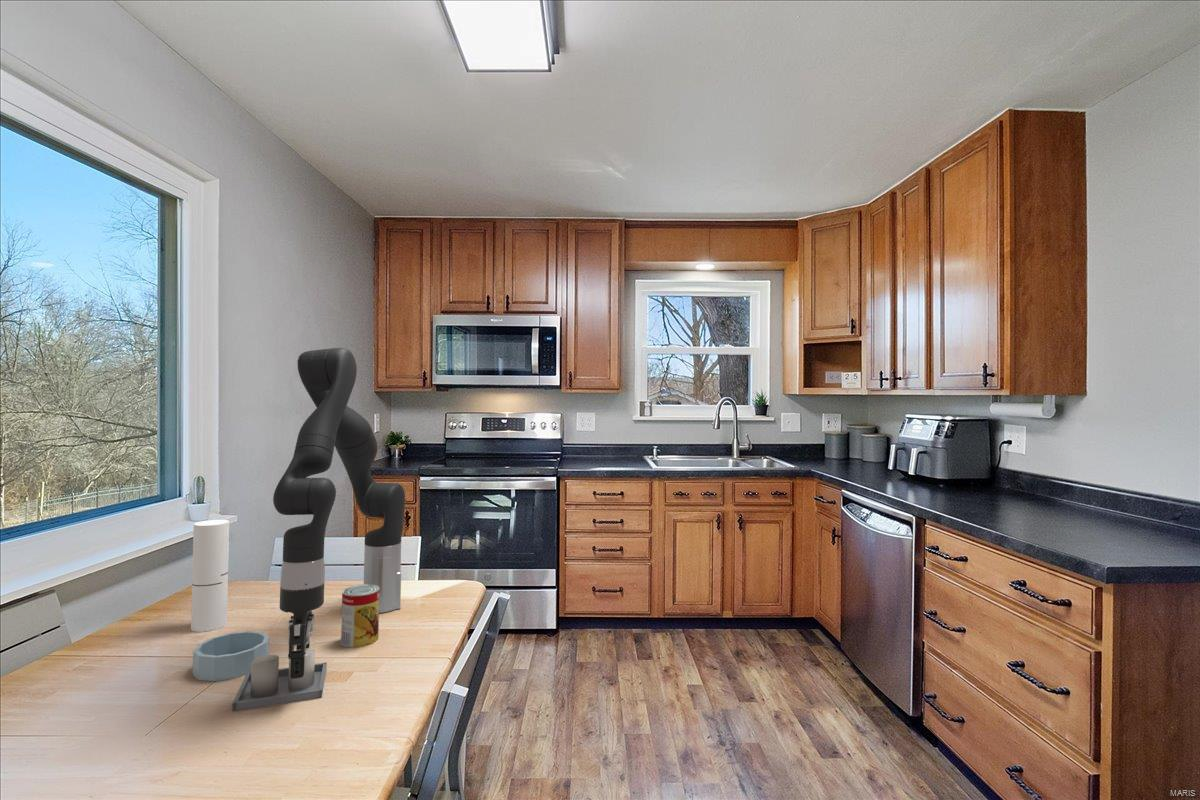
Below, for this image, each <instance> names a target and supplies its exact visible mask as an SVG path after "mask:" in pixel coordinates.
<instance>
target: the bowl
mask: <svg viewBox="0 0 1200 800" xmlns="http://www.w3.org/2000/svg"><path fill="white" fill-rule="evenodd" d="M269 651H270V636H269V635H268V634H266V633H265V632H263V631H256V630H255V631H254V630H243V631H237V632H236V631H235V632H228V633H224V634H221V635H217V636H213V637H211V638H209V639H207V640H204V641H202V642H201V643H198V644H197V645H196V647H195V648H194V649H193V651H192V676H193V677H195V678H196V679H197V680H198V681H208V682H209V681H210V682H218V681H225V680H233V679H237V678H239V677H240V678H241V677H243V676H246V674H247V673H251V662H252V661H253V660H254V659H256V658H258V657H261V656H265V655H270V654H269V653H270V652H269Z"/></svg>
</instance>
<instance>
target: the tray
mask: <svg viewBox="0 0 1200 800" xmlns="http://www.w3.org/2000/svg"><path fill="white" fill-rule="evenodd" d="M327 664H328V663H327V661H326V662H320V663H315V671H314V684H313V685H312V686H310V687H308V688H306V689H302V690H291V689H289V688H288V678H289V667H283V668H279V673H278V691H277V692H276V693H275V694H273V695H271V696H269V697H263V698H252V697H251V673H247V674H246V675H244V678H243V681H242V683H241V685H240V687H239V689H238V692H237V694H236V696H235V698H234V700H233V702H232V712H238V711H244V710H246V711H247V710H251V709H258V708H262V707H263V708H264V707H265V708H266V707H270V706H271V707H272V706H276V705H284V704H288V703H290V704H291V703H294V702H295V703H296V702H301V701H308V700H309V701H310V700H314V699H315V700H316V699H321V698H323V693H324V686H325V683H326V682H325V680H326V674H327V666H328V665H327Z"/></svg>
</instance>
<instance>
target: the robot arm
mask: <svg viewBox="0 0 1200 800" xmlns="http://www.w3.org/2000/svg"><path fill="white" fill-rule="evenodd" d="M297 371H298V375H299V378H300V380H301V383H302V384H303V386H304V389H305V391H306V392H307V393H308V395H309V397H310V399H311V401H312V402H313V404H314V405H315V407H316V409H315V410H314V411H313V412H312V413H310V415H309V416H308V417H307V418H306V419H305V421H304V422H303V424H302V426H301V427H300V429H299V432H298V435H297V439H296V443H295V447H294V452H293V455H292V459H291V460H290V463H289V465H288V467H287V468H286V469H285V471H284V474H282V477H281V478H280V480H279V481H278V482H277V485H276V487H275V489H274V492H273V498H272V501H273V506H274V508H275V510H276V511H277V513H279V514H280V515H283V516H305V515H306V516H308V515H313V516H312V520H311V521H310V523H309V522H308V524H303V525H299V526H294V527H291V528H289V529H287V530H286V531H285V532H284V534H283V538H282V539H283V543H282V564H281V569H280V587H279V588H280V589H279V609H280V611H281V612H283V613H288V614H290V613H291V614H292V615H290V620H288V632H289V633H288V642H287V643H288V654H287V657H288V660H289V659H291V669H290V677H291V678H292V679H295V678H301V677H303V676H304V663H305V655H306V652H305V651H306V648H310V642H311V641H310V640H311V636H312V632H313V630H314V622H315V621H314V619H315V613H313V611H314V610H317V609H319V608H321V607H322V606H323V604H324V602H325V577H326V576H325V574H326V573H325V571H326V569H325V568H326V566H325V556H324V555H325V539H326V538H325V536H326V529H327V526H328V522H329V518H330V515H331V513H332V509H333V506H334V504H335V500H336V497H337V490H336V489H337V488H336V485H335V484H334V482H333V481H332V480H331V479H330V478H327V477H311V476H315V475H319V474H323V473H324V472H327V471H328V470H329V469H330V468H331V465H332V461H333V457H334V456H333V455H334V451H335V450H336V452H337V454H338V456H339V458H340V459H341V462H342V464H343V467H344V468H345V471H346V473H347V475H348V479H349V481H350V484H351V486H352V490H353V494H354V497H355V501H356V503H357V506H358V509H359V511H360V512H361V514H363V515H364V516H366V517H368V518H382V519H383V524H382V526H380V527H379V528H375V529H373V530H369V531H367V532H366V534H365V535H364V549H363V550H364V553H363V555H364V557H363V558H364V559H363V584H371V585H376V586H378V587H379V614H381V613H387V612H392V611H395V610H399V609H401V604H402V603H401V599H402V598H401V596H402V595H401V594H402V592H401V591H402V569H401V568H402V566H401V565H402V562H401V561H402V536H403V535H402V534H403V532H404V531H403V530H404V521H405V507H406V506H405V505H406V492H405V489H404V487H403V486H402V484H401V483H394V482H377V481H375V480H374V478H373V477H372V474H371V469H372V466H373V463H374V461H375V459H376V457H377V453H378V449H379V447H378V446H379V445H378V441H377V438H376V436H375V433H374V432H373V428H372V426H371V424H370V422H369V421H368V420H367V419H366V418H365V417H364V416H362V415H361V414H360V413H359V412H357V411H356V410H354V409H353V408H351V407H350V406H348V403H349V400H350V398H351V395H352V392H353V389H354V387H355V383H356V379H357V371H358V368H357V360H356V359H355V357H354V354H353V352H352V351H351V350H350V349H348V348H346V347H334V348H332V347H331V348H323V349H321V348H320V349H316V350H313V349H312V350H308V351H304V352H301V353H300V354H299V356H298V358H297ZM295 646H296V650H298V649H301V650H299V651H295Z"/></svg>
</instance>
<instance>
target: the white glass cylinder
mask: <svg viewBox="0 0 1200 800" xmlns="http://www.w3.org/2000/svg"><path fill="white" fill-rule="evenodd" d="M299 650H301V649H298V650H295V649H294V651H299ZM305 652H306V655H305V663H304V676H303V677H301V678H295V679H292V678H291V677H290V669H291V659H289V658H288V668H289V678H288V688H289V689H291V690H302V689H306V688H308V687H310V686H312V685H313V684H314V671H315V664H316V663H315V662H316V661H315V660H316V650H315V649H314V648H312V647H309V648H306V651H305Z"/></svg>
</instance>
